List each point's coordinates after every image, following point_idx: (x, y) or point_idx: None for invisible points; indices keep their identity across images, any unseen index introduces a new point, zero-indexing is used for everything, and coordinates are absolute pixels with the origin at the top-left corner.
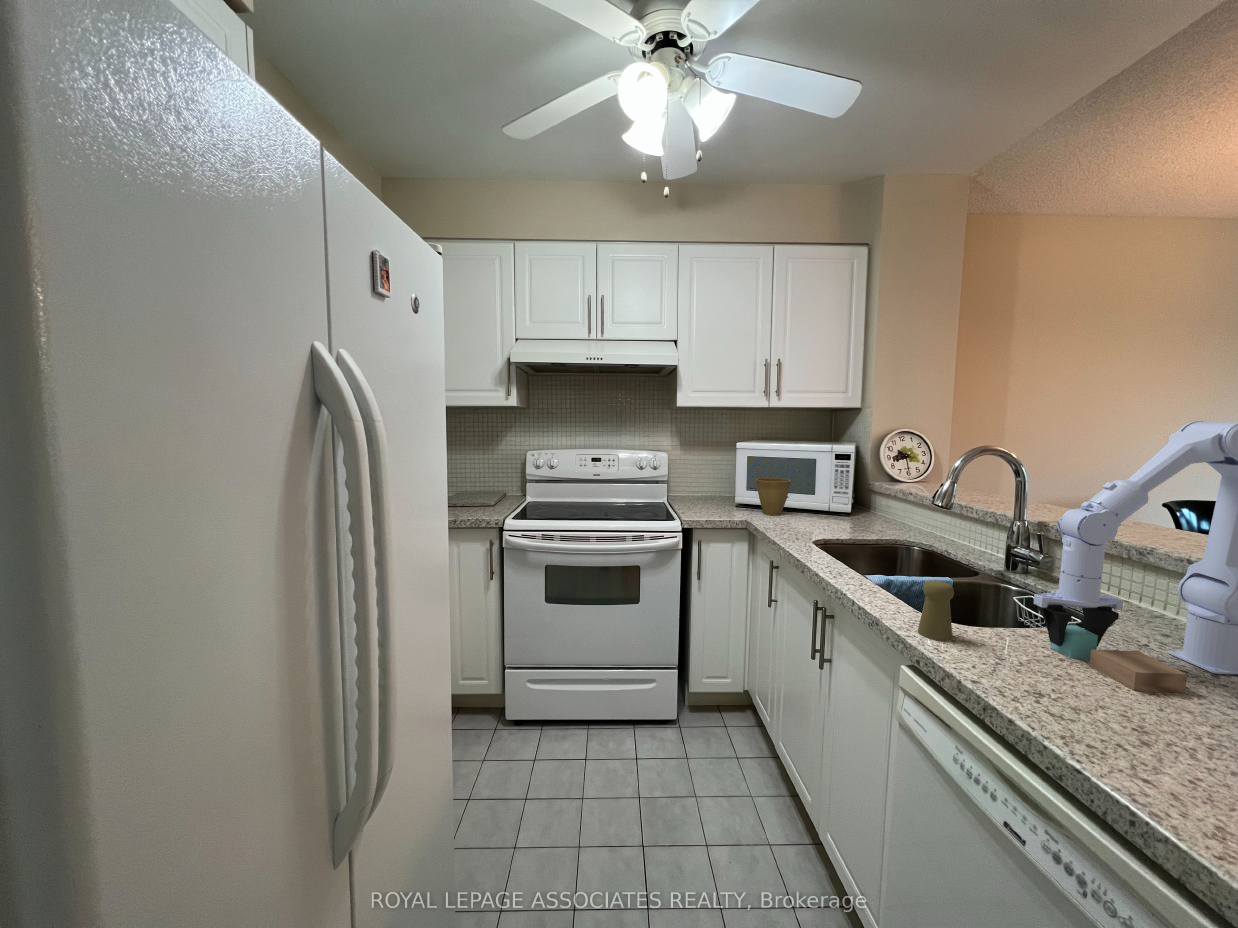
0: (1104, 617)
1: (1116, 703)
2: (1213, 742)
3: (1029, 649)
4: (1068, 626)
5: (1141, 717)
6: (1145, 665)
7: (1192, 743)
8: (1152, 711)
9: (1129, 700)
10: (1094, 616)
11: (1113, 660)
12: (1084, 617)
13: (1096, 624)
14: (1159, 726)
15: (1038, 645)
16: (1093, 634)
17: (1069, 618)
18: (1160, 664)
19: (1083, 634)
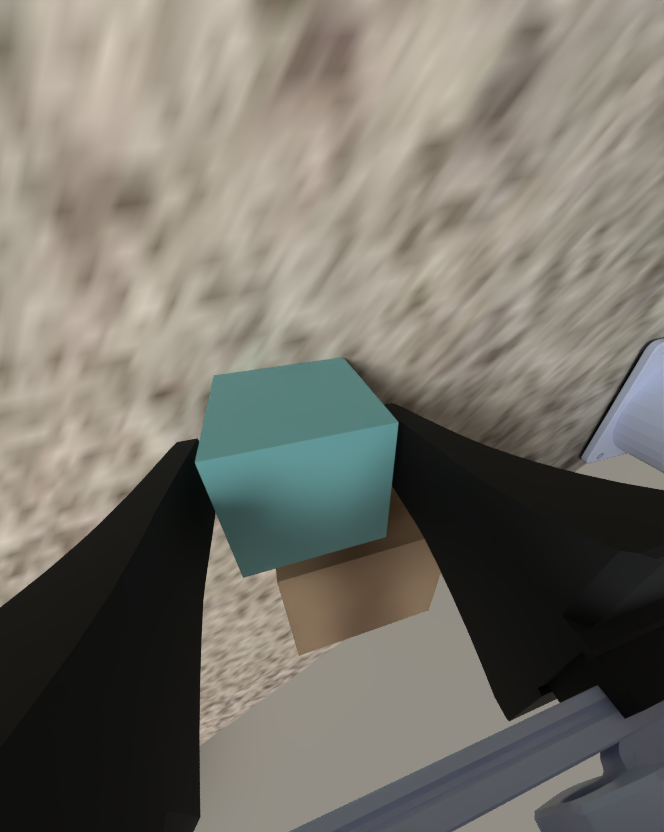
0: (484, 658)
1: (204, 654)
2: (286, 674)
3: (62, 442)
4: (317, 456)
5: (221, 670)
6: (367, 612)
7: (251, 688)
8: (261, 647)
9: (244, 633)
10: (488, 588)
11: (293, 623)
12: (479, 483)
13: (446, 544)
14: (234, 677)
15: (144, 374)
16: (375, 529)
17: (192, 753)
18: (420, 589)
19: (315, 550)
